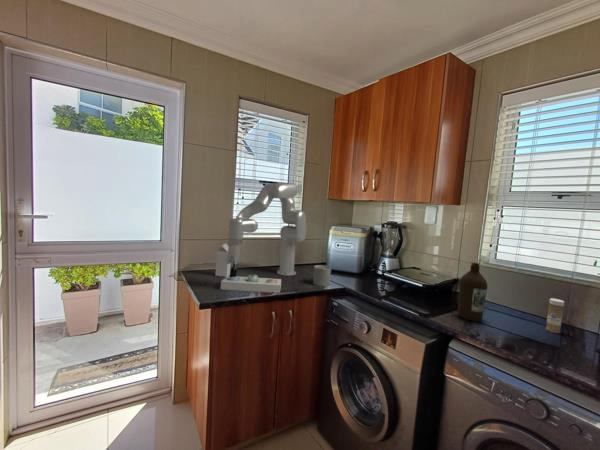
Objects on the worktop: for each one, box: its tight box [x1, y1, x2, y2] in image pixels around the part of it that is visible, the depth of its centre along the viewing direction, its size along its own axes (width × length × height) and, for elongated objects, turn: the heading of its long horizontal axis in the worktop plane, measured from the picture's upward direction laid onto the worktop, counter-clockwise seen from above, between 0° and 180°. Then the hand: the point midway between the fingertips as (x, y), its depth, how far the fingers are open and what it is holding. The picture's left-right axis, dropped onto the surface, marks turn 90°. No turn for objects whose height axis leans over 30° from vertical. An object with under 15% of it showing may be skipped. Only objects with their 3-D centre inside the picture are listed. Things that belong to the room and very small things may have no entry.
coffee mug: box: [312, 264, 332, 287], centre depth 167 cm, size 13×10×10 cm
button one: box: [267, 278, 276, 283], centre depth 149 cm, size 5×5×4 cm
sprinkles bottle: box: [545, 297, 565, 334], centre depth 117 cm, size 5×5×13 cm
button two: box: [229, 275, 238, 281], centre depth 149 cm, size 5×5×4 cm
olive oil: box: [457, 261, 488, 322], centre depth 126 cm, size 11×11×25 cm
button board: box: [220, 275, 282, 294], centre depth 149 cm, size 12×30×4 cm, turn 91°
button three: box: [247, 274, 258, 282], centre depth 149 cm, size 5×5×4 cm
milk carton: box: [215, 242, 230, 278], centre depth 170 cm, size 7×7×19 cm
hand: (233, 276), depth 148 cm, fingers closed
